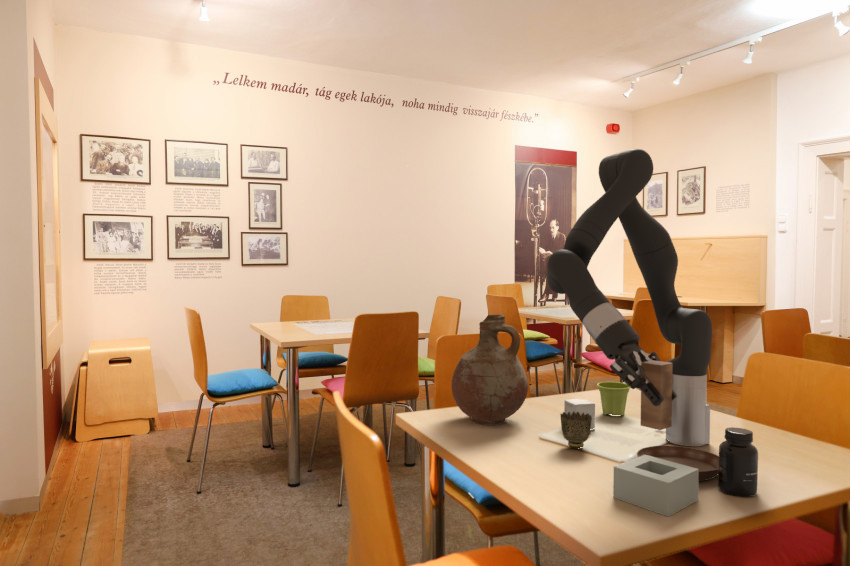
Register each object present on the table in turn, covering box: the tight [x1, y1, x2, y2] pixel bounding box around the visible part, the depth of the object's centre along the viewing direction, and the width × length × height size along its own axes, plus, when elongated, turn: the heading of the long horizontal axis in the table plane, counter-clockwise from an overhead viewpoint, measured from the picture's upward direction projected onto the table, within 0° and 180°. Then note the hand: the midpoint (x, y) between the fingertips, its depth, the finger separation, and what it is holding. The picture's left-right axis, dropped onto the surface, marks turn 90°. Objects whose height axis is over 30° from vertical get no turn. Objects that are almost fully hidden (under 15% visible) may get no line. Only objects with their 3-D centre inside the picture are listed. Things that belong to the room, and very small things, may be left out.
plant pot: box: [596, 381, 632, 416], centre depth 175 cm, size 9×9×9 cm
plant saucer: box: [636, 445, 719, 482], centre depth 129 cm, size 18×18×3 cm
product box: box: [563, 398, 596, 429], centre depth 161 cm, size 6×6×7 cm
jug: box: [451, 314, 529, 426], centre depth 168 cm, size 22×22×30 cm
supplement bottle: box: [717, 427, 759, 498], centre depth 116 cm, size 7×7×12 cm
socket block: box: [612, 455, 699, 517], centre depth 113 cm, size 11×11×6 cm
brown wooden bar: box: [640, 360, 673, 431], centre depth 112 cm, size 4×4×12 cm
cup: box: [559, 411, 592, 450], centre depth 144 cm, size 8×7×8 cm
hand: (666, 401), depth 111 cm, fingers closed on brown wooden bar, 4 cm apart
